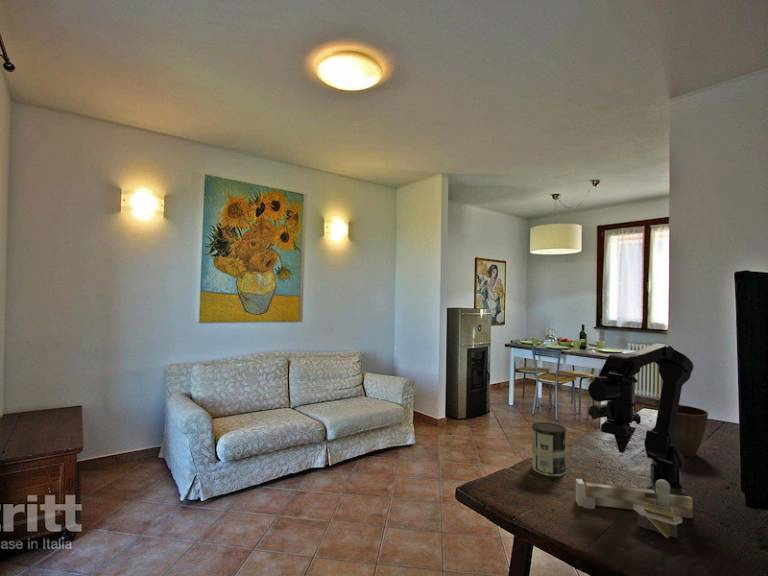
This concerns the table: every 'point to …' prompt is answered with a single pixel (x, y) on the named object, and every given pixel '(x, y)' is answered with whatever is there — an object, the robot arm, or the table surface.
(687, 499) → the block
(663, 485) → the hinge post
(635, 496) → the cream wooden bar
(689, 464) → the table surface
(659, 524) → the platform
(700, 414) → the plant pot
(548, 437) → the coffee can
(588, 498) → the cream l-shaped block
